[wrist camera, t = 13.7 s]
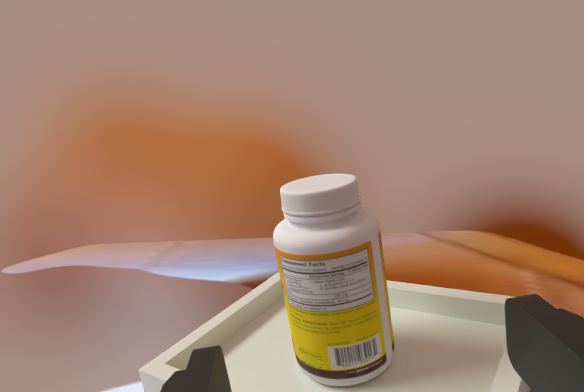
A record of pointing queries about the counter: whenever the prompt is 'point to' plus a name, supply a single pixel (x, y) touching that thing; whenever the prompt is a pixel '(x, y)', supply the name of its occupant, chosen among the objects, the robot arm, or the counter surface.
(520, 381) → the tray
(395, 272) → the counter surface
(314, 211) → the supplement bottle
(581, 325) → the robot arm
